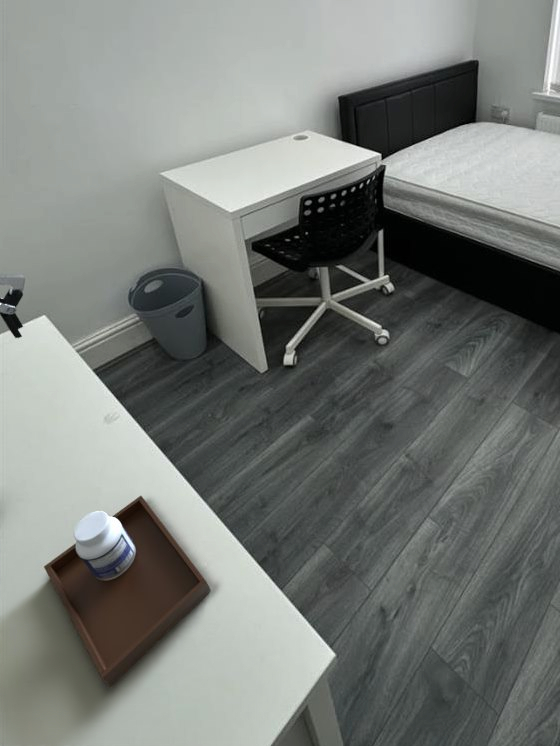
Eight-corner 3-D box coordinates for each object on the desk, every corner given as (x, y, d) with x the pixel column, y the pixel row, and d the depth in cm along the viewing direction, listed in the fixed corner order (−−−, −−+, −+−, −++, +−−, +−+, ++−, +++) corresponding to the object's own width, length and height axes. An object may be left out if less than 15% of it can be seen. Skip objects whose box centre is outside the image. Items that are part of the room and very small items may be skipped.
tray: (51, 576, 68) (43, 566, 66) (146, 504, 76) (141, 495, 75) (110, 686, 58) (102, 678, 56) (211, 590, 66) (206, 581, 65)
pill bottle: (95, 552, 70) (69, 516, 64) (136, 534, 72) (114, 498, 67) (92, 589, 66) (64, 554, 60) (136, 570, 68) (113, 534, 62)
